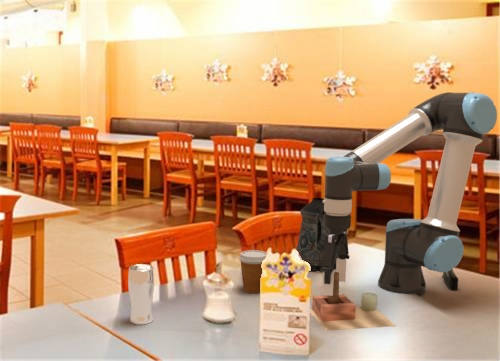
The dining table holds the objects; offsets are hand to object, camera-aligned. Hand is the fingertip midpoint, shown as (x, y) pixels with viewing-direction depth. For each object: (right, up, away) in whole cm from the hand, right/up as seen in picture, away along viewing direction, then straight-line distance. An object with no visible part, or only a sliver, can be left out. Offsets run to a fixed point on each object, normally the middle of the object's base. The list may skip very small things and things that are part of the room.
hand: (334, 287), depth 174 cm
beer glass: (-53, -8, -4) cm, 54 cm away
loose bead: (+11, -7, +7) cm, 15 cm away
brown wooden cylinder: (0, -8, +1) cm, 8 cm away
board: (+4, -9, -1) cm, 10 cm away
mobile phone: (+43, -5, +35) cm, 56 cm away
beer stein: (+1, -2, +52) cm, 52 cm away
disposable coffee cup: (-23, -5, +24) cm, 33 cm away
